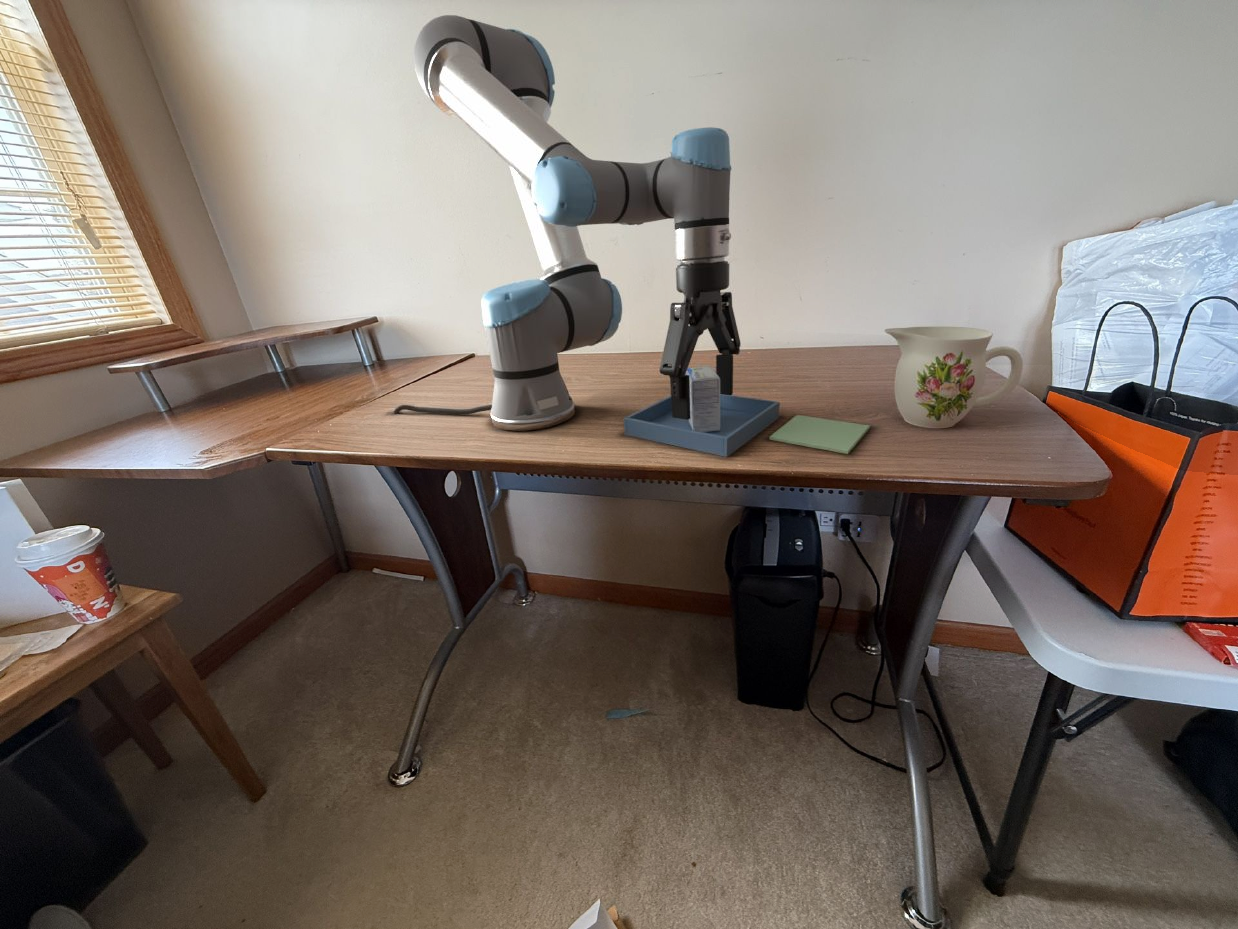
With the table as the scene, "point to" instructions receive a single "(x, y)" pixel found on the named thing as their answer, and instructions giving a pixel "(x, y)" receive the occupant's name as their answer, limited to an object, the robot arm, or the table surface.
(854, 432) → the mat
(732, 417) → the tray
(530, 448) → the table surface
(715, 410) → the medicine box
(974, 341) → the pitcher
